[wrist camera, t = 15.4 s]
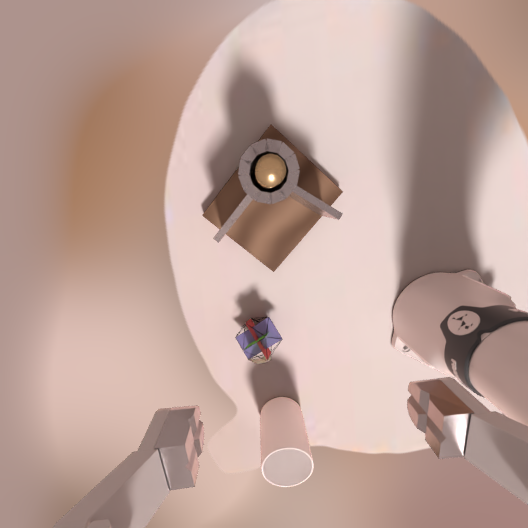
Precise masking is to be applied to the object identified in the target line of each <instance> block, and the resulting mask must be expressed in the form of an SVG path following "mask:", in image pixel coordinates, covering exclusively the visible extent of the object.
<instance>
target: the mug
mask: <svg viewBox="0 0 528 528" xmlns="http://www.w3.org/2000/svg"><path fill="white" fill-rule="evenodd" d="M260 439H261V471H262V474H263V476H264V478H265V479H266V480H267V481H268V482H270V483H271V484H274V485H276V486H280V487H290V486H295V485H298V484H300V483H302V482H304V481H305V480H306V479H308V477H309V476H310V475H311V473H312V471H313V467H314V464H313V459H312V454H311V450H310V445H309V441H308V436H307V432H306V427H305V423H304V418H303V414H302V411H301V408H300V406H299V405H298V403H296V402H295V401H294V400H292V399H290V398H287V397H277V398H274V399H271V400H270V401H268V402H267V403H266V404H265V405H264V406H263V408H262V410H261V414H260Z"/></svg>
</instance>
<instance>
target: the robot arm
mask: <svg viewBox="0 0 528 528" xmlns="http://www.w3.org/2000/svg"><path fill="white" fill-rule="evenodd" d="M515 306H516V305H515V304H514V303H513V302H512V300H511V297H510V296H509V295H507V294H506V293H503V292H501V291H499V290H497V289H494V288H492V287H490V286H488V285H485V284H484V282H483V280H482V279H481V277H480V275H479V274H478V273H477V272H475V271H473V270H464V271H460V272H457V273H444V272H437V273H431V274H427V275H424V276H422V277H420V278H418V279H416V280H415V281H413V282H412V283H410V284H409V285H408V286H407V287H406V288H405V289H404V290H403V291H402V293H401V294H400V295H399V297H398V299H397V301H396V303H395V306H394V309H393V325H394V334H393V338H392V347H393V348H395V349H396V350H397V351H399V352H401V353H403V354H405V355H407V356H409V357H411V358H413V359H415V360H417V361H419V362H421V363H423V364H425V365H427V366H429V367H431V368H433V369H435V370H437V371H439V372H441V373H443V374H445V375H447V376H449V377H446V378H438V379H430V380H422V381H413V382H410V383H409V386H408V391H409V392H410V394H411V396H410V397H409V399H408V400H407V408H408V412H409V416H410V418H411V420H412V422H413V423H414V425H415V426H416V427H417V429H419V430H421V431H422V432H424V433H425V440H426V442H427V443H428V444H429V446H430V447H431V449H432V450H433V451H434V453H435V454H436V455H437V457H438V458H439V459H444V458H456V457H464V458H465V459H466V460H467V461H469V462H470V463H472V464H473V465H474V466H476V467H477V468H478V469H480V470H481V471H482V472H484V473H485V474H486V475H488V476H489V477H490V478H492V479H493V480H494V481H496V482H497V483H498V484H500V485H501V486H503V487H504V488H505V489H507V490H508V491H509V492H511V493H512V494H513V495H515V496H516V497H517V498H519V499H520V500H522V501H523V502H524V503H526V504H527V505H528V312H525V311H522V310H518V309H516V307H515ZM404 346H405V347H404ZM451 377H452V378H451ZM453 378H457V379H458V380H459V381H460V382H461V383H462V384H463V385H465V386H466V387H467V388H468V389H470V390H472V391H473V392H474V393H476V394H477V395H479V396H482V397H484V398H486V399H487V400H488V401H490V402H491V403H492V404H493V405H494V406H495V407H497V408H498V409H499V410H500V411H501V412H502V413H504V414H505V415H506V416H507V417H506V416H504V415H502V414H500V413H498V412H496V411H494V412H491V411H489V410H488V409H487V408H486V407H485V406H484V405H483V404H482V403H480V402H479V401H478V400H477V399H476V398H475V397H474V396H473V395H471V394H470V393H469V392H468V391H467V390H466V389H465V388H464V387H463V386H461V385H460V384H459V383H458V382H457V381H456V380H455V379H453ZM200 415H201V412H200V408H199V406H197V405H196V406H184V407H173V408H164V409H158V410H157V411H156V412H155V414H154V417H153V419H152V421H151V423H150V425H149V427H148V429H147V432H146V434H145V436H144V438H143V440H142V442H141V444H140V446H139V449H138V451H136V452H132V453H131V454H130V455H129V456H128V457H127V458H126V459H125V460H124V461H123V462H121V463H120V464H119V465H118V466H117V467H116V468H115V469H114V470H113V471H112V472H111V473H110V474H109V475H107V476H106V477H105V478H104V479H103V480H102V481H101V482H100V483H99V484H98V485H97V486H96V487H94V488H93V489H92V490H91V491H90V492H89V493H88V494H87V495H86V496H85V497H84V498H83V499H82V500H80V501H79V502H78V503H77V504H76V505H75V506H74V507H73V508H72V509H71V510H70V511H68V512H67V513H66V514H65V515H64V516H63V517H62V518H61V519H60V520H59V521H58V522H57V523H56V524H55V525H54V527H53V528H145V527H146V525H147V524H148V522H149V521H150V520H151V518H152V517H153V515H154V514H155V512H156V511H157V509H158V508H159V507H160V505H161V504H162V502H163V501H164V499H165V498H166V497H167V495H168V494H169V490H176V489H182V488H189V487H195V483H196V479H197V474H198V469H199V462H198V457H199V455H200V454H201V453H202V449H203V445H204V427H203V422H201V421H200V420H199V419H200Z"/></svg>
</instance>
